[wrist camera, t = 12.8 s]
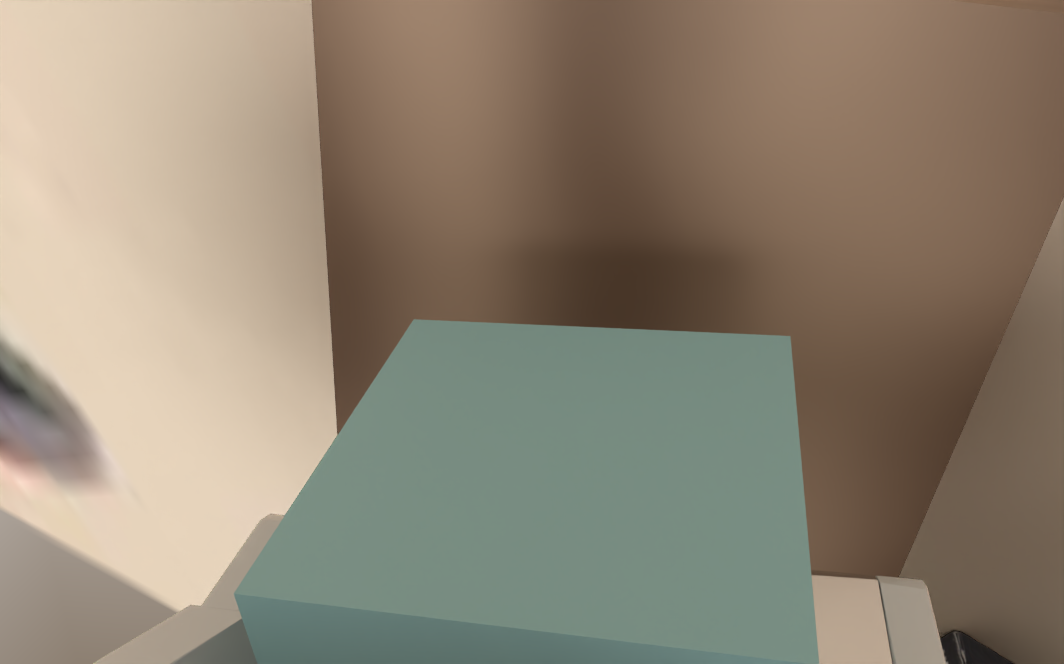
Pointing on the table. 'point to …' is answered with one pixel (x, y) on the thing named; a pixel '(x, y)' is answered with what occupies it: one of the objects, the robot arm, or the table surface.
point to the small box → (968, 651)
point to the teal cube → (550, 507)
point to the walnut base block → (708, 200)
